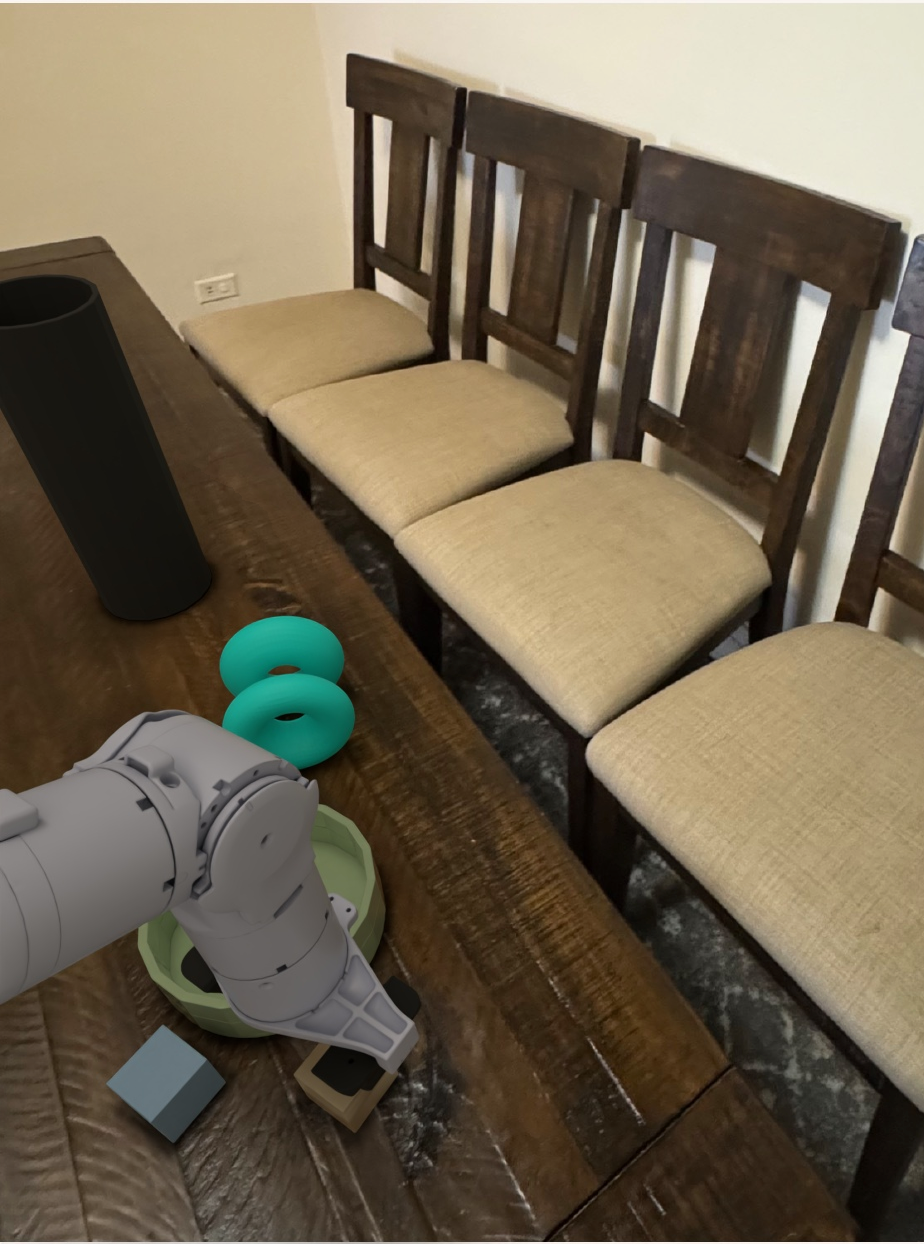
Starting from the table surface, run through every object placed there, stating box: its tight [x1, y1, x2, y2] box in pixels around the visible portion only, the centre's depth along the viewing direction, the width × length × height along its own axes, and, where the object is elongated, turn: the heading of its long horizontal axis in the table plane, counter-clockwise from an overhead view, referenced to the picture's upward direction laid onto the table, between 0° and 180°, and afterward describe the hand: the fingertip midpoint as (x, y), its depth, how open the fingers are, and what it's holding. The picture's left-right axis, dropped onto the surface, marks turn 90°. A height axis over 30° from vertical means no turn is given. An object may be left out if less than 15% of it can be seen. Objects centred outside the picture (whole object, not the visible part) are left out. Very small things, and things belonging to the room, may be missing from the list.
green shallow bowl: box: [137, 803, 387, 1039], centre depth 60 cm, size 15×15×5 cm
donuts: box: [219, 615, 356, 771], centre depth 71 cm, size 10×10×10 cm
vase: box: [0, 273, 213, 621], centre depth 77 cm, size 10×10×30 cm
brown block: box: [293, 1042, 400, 1134], centre depth 53 cm, size 4×4×4 cm
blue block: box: [105, 1024, 227, 1144], centre depth 52 cm, size 4×4×4 cm
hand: (326, 1034), depth 49 cm, fingers open, 7 cm apart
